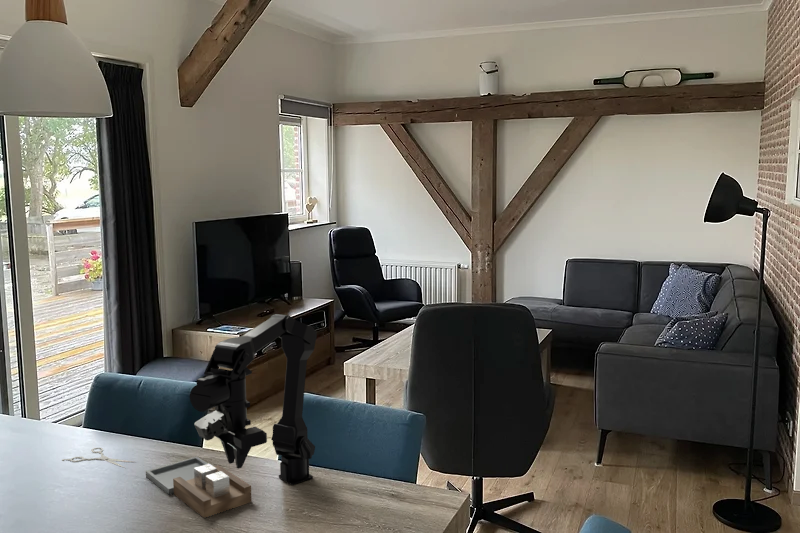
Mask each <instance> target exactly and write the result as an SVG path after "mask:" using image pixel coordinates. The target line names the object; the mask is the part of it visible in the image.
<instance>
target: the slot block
mask: <svg viewBox="0 0 800 533" xmlns="http://www.w3.org/2000/svg"><path fill="white" fill-rule="evenodd" d="M213 466H214V467H215V468H217V472H220V471H222V472H223V473H225V474H226V475H228V476H229V487H230V493H227V494H224V495H221V496H218V497H215V498H214V497H212V496H211V495H209V494H208V493H207V492H206V488H205V489H201V488H200V487H198V486H197V485H196V484H195V481H194V478H193V479H190V480H187V481H185V480H184V479H183V478H181V477H177V478H174V479H173V486H174V494H173V496H175V497H176V498H178V499H179V500H180V499H181V500H180V501H181V502H183V503H184V504H185V503H186V504H185V505H187V507H189V508H190V509H192V510H193V511H194V512H196V513H197V514H198V515H199V514H200V515H199V516H201V517H202V518H203V517H204V518H203V519H206V518H205V517H207V518H209V517H208V516H210V517H212V516H211V515H213V516H215V515H214V514H216V515H218V514H221V513H224V512H226V510H227V511H229V509H230V510H232V508H233V509H234V508H237V507H241V506H244V505H246V504H250V503H253V502H252V485H250V484H249V483H247V482H246V481H245V480H243V479H241V478H240V477H238V476H237V475H235V474H233V473H232V472H230V471H229V470H227V469H226V468H224V467H223V466H221V465H220V464H218V465H213ZM223 511H224V512H223ZM220 512H221V513H220ZM217 513H218V514H217Z"/></svg>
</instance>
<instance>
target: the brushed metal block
mask: <svg viewBox="0 0 800 533" xmlns="http://www.w3.org/2000/svg"><path fill="white" fill-rule="evenodd" d="M205 478H206V492H207V493H208V494H209V495H211V496H212V497H214V498H215V497H218V496H221V495H224V494H227V493H230V487H229V476H228V475H226V474H225V473H223V472H222V471H220V472H217V473H213V474H210V475H207V476H205Z"/></svg>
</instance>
